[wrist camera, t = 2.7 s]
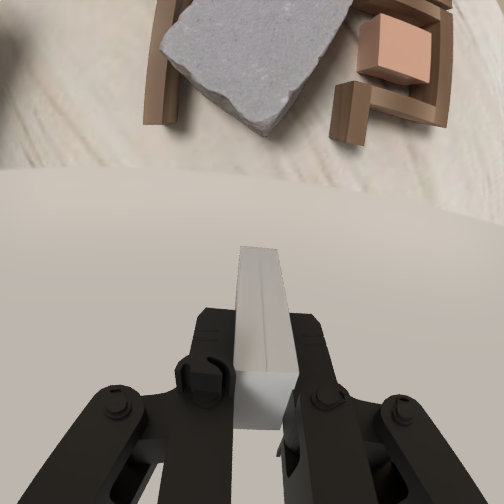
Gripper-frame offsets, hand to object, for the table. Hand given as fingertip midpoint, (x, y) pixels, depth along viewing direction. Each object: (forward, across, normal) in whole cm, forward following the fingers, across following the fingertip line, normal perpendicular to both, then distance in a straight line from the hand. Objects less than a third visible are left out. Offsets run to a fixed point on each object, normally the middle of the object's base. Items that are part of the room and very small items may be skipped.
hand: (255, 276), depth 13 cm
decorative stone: (+11, -1, +13) cm, 17 cm away
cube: (+11, +8, +13) cm, 19 cm away
